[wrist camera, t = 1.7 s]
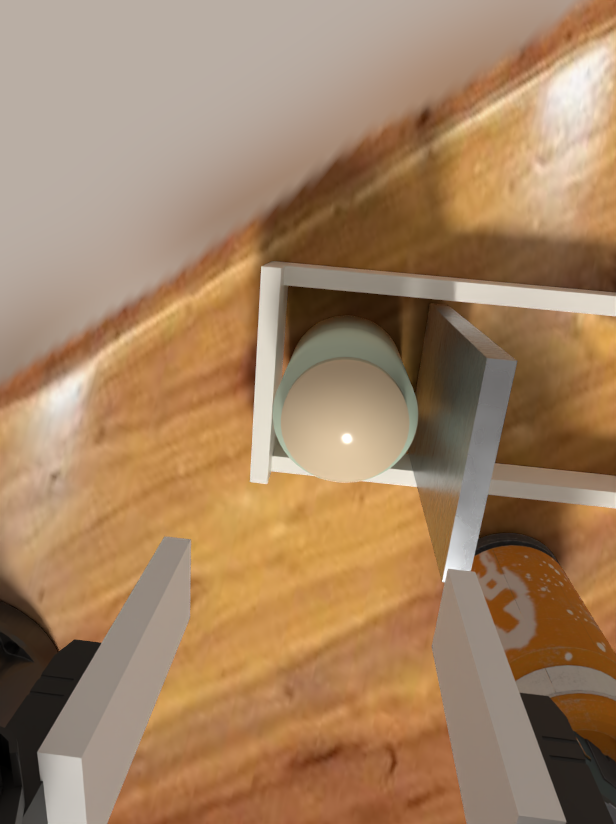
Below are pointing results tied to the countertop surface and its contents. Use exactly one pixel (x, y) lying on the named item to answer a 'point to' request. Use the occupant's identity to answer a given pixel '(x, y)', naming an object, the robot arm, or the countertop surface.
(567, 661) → the canister
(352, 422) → the jar
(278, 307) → the white rectangular frame
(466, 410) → the panel
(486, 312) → the countertop surface
